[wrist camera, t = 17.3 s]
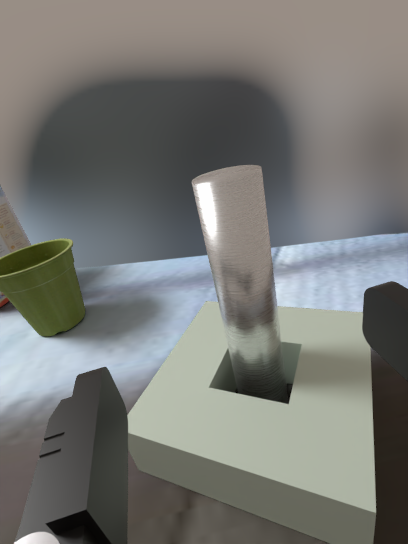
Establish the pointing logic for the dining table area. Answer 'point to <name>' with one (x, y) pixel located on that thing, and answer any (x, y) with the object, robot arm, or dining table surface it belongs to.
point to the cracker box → (9, 233)
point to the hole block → (269, 426)
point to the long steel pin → (243, 276)
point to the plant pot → (43, 286)
